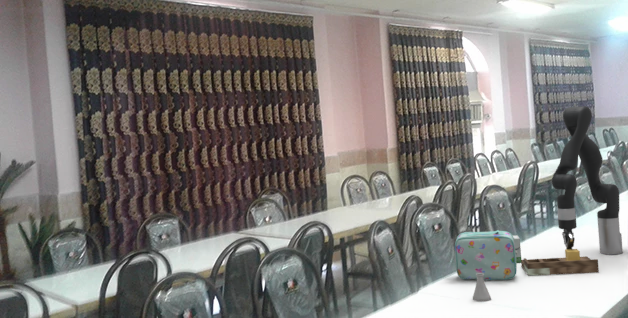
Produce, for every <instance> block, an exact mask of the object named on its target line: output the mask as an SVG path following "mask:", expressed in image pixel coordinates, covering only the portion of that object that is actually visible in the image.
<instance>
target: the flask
mask: <svg viewBox="0 0 628 318" xmlns="http://www.w3.org/2000/svg"><path fill="white" fill-rule="evenodd" d="M476 276H477V279H476V284H475V289H474V292H473V295H472V300H474V301H476V302H486V301H491V300H492V297H491V294H490V292H489V290H488V288H487V286H486V283H485V280H484V277H483V276H484V274H483V273H477V274H476Z"/></svg>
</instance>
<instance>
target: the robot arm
mask: <svg viewBox="0 0 628 318" xmlns="http://www.w3.org/2000/svg"><path fill="white" fill-rule="evenodd" d="M592 118H593V114H592V111H591V109H590V107H588V106H586V105H585V106H583V105H581V106H569V107H566V108H565V109H564V110H563V113H562V119H563V122H564V124H565V126H566V129H567V131H568V133H569V135H570V137H571V138H570V139H568V140H569V141H568V142H567V143H566V144H565V145H564V147H563V149H562V151H561V155H560V160H559V164H558V165H557V168H556V170H555V171H554V173H553V176H552V179H551V184H552V187H553V188H554V189H556V190H561V191H562V190H563V191H564V193H563V194H559V195H558V196H557V198H556V201H557V221H558V229H560V230H563V232H562V233H561V235H562V239H563V244H564V247H565V249H573V247H575V237H574V236H575V235H574V232H573V230H574V229H576V228H577V215H576V214H577V213H576V208H575V196H576V191H577V186H578V183H577V182H578V180H577V178H576V177H575V176H574V174H572V173H571V174H570V173H569V172H571V171H575V169H576V168H577V163H578V160H580V163H581V165H582V167H583V170H584V172H585V175H586V178H587V181H588V182H587V183H588V186H589V187H588V188H589V190H590V195H591V197H592V199H593V200H594V201H595V202H596V203H597V204H598V203H599V204H606V206H605V208H604V209H600V210H598V211H597V212H596V214H597V215H596V216H597V228H598V231H597V232H598V245H599V252H600V253H599V254H603V255H619V254H623V251H624V250H623V237H622V233H621V230H620V216H619V215H620V190H619V188H618V186H617V185H616V184H615V183H614V184H613V183H602V181H601V179H600V174H599V173H600V171H601V168H602V165H603V162H604V161H603V155H602V152H601V150H600V148H599V146H598V145H597V143H596V142H595V141H594V140H592V138H590V137H589V136H588V135H587V132H588V130H589V127H590V126H591V122H592Z"/></svg>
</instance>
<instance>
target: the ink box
mask: <svg viewBox="0 0 628 318" xmlns="http://www.w3.org/2000/svg"><path fill="white" fill-rule="evenodd" d="M512 236H513V238H514V244H515V248H516V249H515V251H517V253H518V255H519V256H518V255H517V254H516V263H517V264H518V263H520V264H521V260H522V252H521V251H522V249H521V248H522V247H521V239H520V237H519V235H518V234H517V235H513V234H512Z"/></svg>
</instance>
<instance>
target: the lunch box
mask: <svg viewBox="0 0 628 318" xmlns="http://www.w3.org/2000/svg"><path fill="white" fill-rule="evenodd" d="M512 235H513V234H512V233H511V232H509V231H507V230H499V229H497V230H495V231H494V230H492V231H491V230H490V231H475V232H474V231H465V232H461V233H459V234H458V235H457V236H456V240H455V243H454V256H455V258H454V259H455V267H456V274H457V276H458V277H459V278H460V279H462V280H477V276H476V274H477V273H483V274H484V276H483V277H484V281H493V280H494V281H496V280H502V281H503V280H504V281H505V280H511V279H513V278H515V277H516V275H517V271H518V270H517V269H518V267H517V264H518V263H516V254H517V255H518V253H517V251H515V249H516V248H515V244H514V238H513V236H512ZM518 256H519V255H518Z"/></svg>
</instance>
